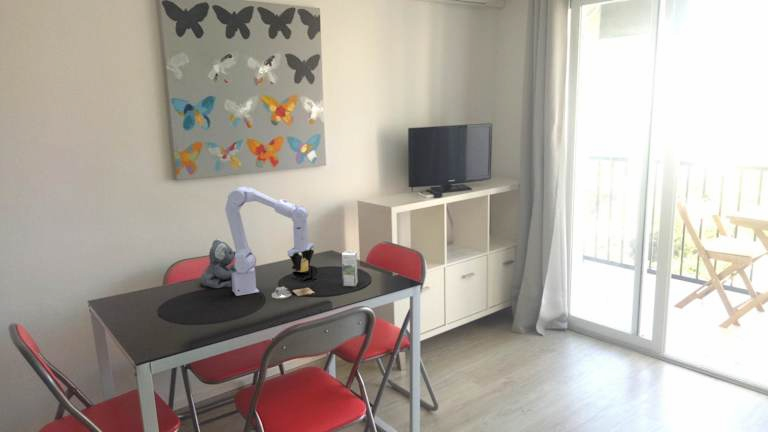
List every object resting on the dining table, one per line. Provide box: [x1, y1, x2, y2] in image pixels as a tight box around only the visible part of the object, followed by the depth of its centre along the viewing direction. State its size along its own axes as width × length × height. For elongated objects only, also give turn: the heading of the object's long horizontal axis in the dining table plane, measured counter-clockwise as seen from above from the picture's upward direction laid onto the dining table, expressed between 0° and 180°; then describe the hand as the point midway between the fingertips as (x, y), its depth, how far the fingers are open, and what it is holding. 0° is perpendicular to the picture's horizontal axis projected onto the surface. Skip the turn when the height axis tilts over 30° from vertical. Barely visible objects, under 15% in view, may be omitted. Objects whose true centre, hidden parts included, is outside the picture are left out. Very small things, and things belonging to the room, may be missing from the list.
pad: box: [292, 287, 315, 297], centre depth 226 cm, size 7×7×1 cm
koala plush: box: [200, 238, 237, 289], centre depth 237 cm, size 17×18×20 cm
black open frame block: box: [291, 264, 319, 283], centre depth 243 cm, size 10×7×7 cm
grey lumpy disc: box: [271, 286, 293, 300], centre depth 222 cm, size 8×8×3 cm
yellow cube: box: [298, 257, 308, 272], centre depth 224 cm, size 5×5×5 cm
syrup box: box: [341, 250, 358, 288], centre depth 233 cm, size 6×6×14 cm
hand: (302, 268), depth 224 cm, fingers closed on yellow cube, 5 cm apart
